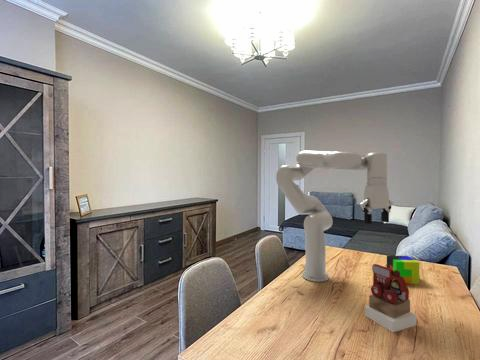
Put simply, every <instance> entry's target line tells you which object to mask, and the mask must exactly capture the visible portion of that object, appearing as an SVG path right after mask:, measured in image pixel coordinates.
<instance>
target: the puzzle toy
mask: <svg viewBox="0 0 480 360" xmlns="http://www.w3.org/2000/svg"><path fill="white" fill-rule="evenodd" d="M386 267H387V268H390V269H392V270H393V271H395V270H398V271H399V272H400V276H402V277H403V278H404V280H405V282H406V285H407V284H413V285H420V262H419V261H418V260H416V259H414V258H412V257H411V256H408V255H386ZM393 280H394V279H393Z"/></svg>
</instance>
